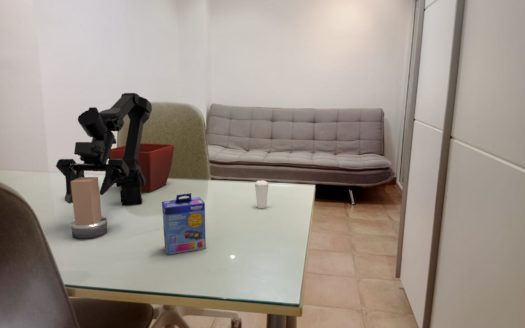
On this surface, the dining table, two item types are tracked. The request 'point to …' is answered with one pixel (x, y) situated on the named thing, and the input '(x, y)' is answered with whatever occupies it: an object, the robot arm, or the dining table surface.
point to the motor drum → (89, 230)
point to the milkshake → (261, 193)
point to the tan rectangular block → (86, 200)
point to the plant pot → (151, 163)
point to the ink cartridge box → (184, 224)
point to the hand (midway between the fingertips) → (84, 194)
